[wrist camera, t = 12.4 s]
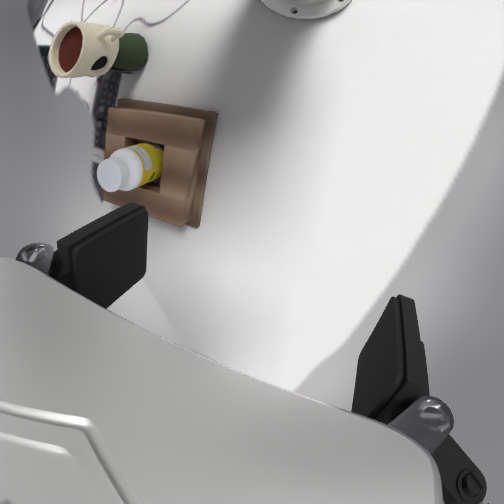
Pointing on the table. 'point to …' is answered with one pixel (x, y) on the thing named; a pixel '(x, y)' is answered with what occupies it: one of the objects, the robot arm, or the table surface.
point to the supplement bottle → (131, 167)
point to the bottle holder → (165, 157)
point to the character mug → (95, 50)
